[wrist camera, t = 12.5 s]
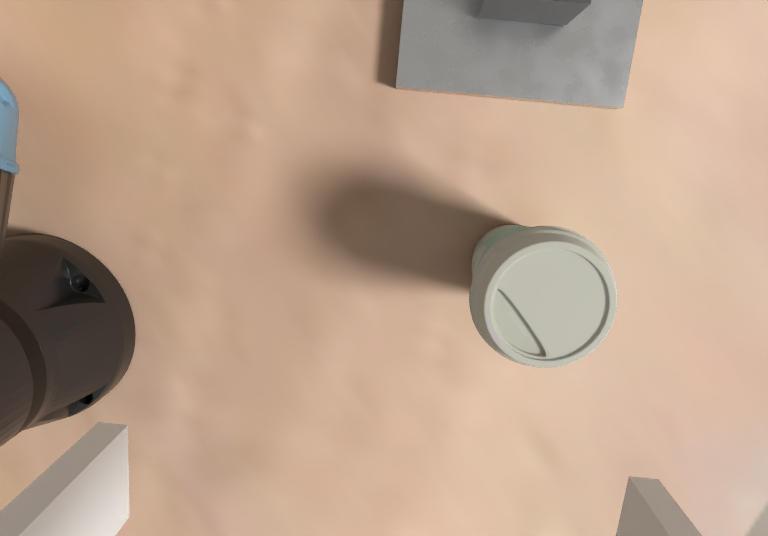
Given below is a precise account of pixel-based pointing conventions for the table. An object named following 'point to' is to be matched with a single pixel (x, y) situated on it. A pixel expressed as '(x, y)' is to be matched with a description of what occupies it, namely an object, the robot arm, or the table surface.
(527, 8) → the knob
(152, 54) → the table surface
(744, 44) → the table surface
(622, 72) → the grey square plate
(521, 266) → the coffee cup
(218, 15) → the table surface
